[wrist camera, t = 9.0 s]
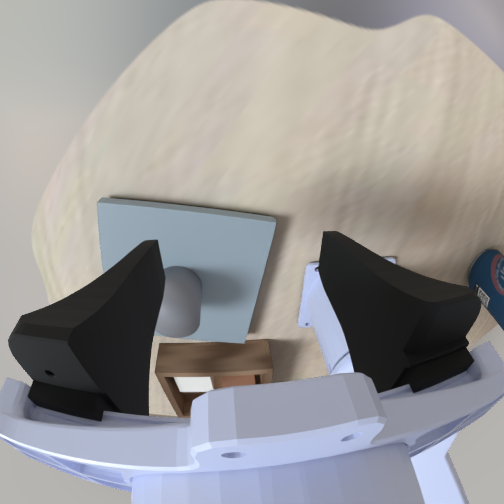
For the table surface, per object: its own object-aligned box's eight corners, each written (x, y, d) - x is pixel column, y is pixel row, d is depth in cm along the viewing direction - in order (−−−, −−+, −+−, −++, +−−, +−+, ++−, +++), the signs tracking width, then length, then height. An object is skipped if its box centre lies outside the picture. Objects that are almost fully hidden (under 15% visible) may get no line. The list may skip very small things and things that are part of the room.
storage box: (267, 339, 29) (273, 368, 26) (264, 391, 35) (267, 415, 32) (159, 343, 28) (154, 372, 25) (180, 394, 34) (178, 418, 31)
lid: (272, 212, 22) (287, 251, 17) (243, 330, 28) (247, 375, 23) (105, 193, 19) (73, 226, 14) (118, 316, 26) (103, 359, 21)
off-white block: (209, 353, 29) (209, 374, 27) (213, 372, 31) (213, 391, 29) (174, 354, 29) (172, 374, 26) (181, 373, 31) (180, 391, 28)
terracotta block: (254, 374, 32) (256, 393, 30) (254, 389, 34) (256, 406, 32) (222, 376, 32) (222, 395, 29) (224, 391, 34) (225, 408, 31)
